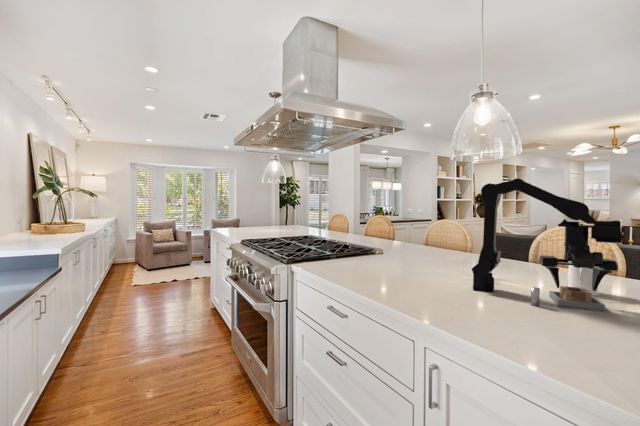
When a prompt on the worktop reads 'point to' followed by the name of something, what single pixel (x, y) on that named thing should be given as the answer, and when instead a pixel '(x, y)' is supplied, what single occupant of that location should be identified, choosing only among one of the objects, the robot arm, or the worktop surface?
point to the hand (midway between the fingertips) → (575, 289)
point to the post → (535, 296)
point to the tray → (576, 303)
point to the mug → (581, 278)
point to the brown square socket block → (575, 294)
